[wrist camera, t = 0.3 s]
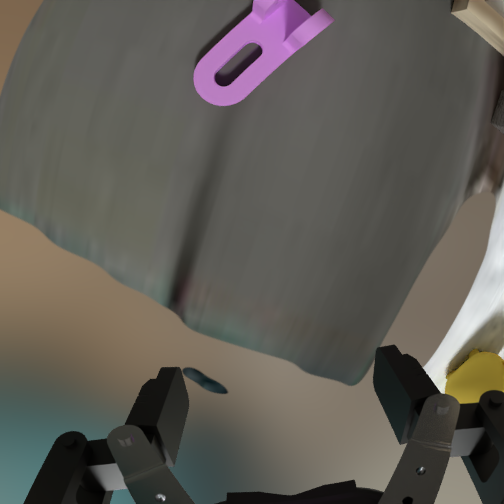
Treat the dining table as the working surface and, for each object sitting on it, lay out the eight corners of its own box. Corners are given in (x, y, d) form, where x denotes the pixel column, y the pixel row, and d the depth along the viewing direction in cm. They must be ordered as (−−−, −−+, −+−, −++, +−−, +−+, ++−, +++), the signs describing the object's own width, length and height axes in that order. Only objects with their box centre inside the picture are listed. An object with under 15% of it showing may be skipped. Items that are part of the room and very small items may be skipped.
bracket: (279, -8, 23) (288, -31, 17) (320, 30, 25) (339, 16, 19) (184, 80, 28) (167, 78, 22) (225, 116, 30) (220, 123, 23)
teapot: (413, 396, 52) (433, 448, 41) (487, 323, 44) (522, 373, 33) (446, 405, 56) (465, 448, 45) (511, 342, 47) (540, 384, 37)
